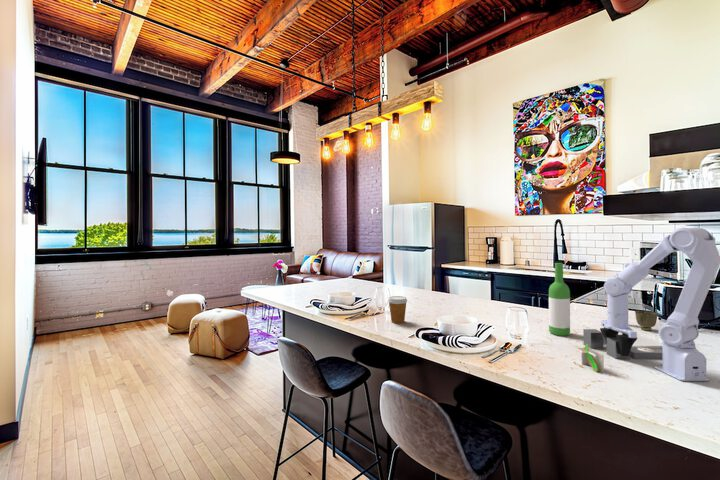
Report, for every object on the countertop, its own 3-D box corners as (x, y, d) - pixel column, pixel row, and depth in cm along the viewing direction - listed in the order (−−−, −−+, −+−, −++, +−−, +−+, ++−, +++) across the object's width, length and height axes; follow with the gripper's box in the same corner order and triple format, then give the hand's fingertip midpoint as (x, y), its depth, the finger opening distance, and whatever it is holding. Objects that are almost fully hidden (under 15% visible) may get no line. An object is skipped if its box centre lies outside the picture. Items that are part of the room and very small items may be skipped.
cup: (662, 333, 140) (662, 314, 140) (641, 332, 142) (641, 313, 142) (650, 328, 148) (650, 309, 147) (631, 327, 149) (631, 309, 149)
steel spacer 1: (603, 348, 123) (603, 332, 123) (590, 348, 124) (590, 332, 123) (595, 344, 128) (595, 329, 128) (583, 344, 128) (583, 329, 128)
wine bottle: (574, 335, 140) (574, 263, 139) (561, 337, 137) (560, 264, 136) (557, 330, 147) (557, 262, 146) (544, 332, 144) (544, 262, 143)
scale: (684, 358, 112) (684, 350, 112) (634, 358, 113) (634, 350, 113) (638, 339, 132) (638, 332, 132) (596, 339, 133) (596, 332, 133)
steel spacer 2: (629, 359, 113) (629, 341, 113) (615, 359, 113) (615, 341, 113) (620, 354, 118) (619, 337, 118) (606, 354, 118) (606, 337, 118)
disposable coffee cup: (385, 320, 169) (385, 296, 168) (402, 318, 172) (402, 295, 171) (392, 325, 160) (392, 300, 159) (410, 323, 163) (410, 298, 162)
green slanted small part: (590, 374, 103) (590, 348, 103) (576, 365, 110) (575, 341, 109) (603, 374, 103) (603, 348, 103) (588, 365, 110) (587, 341, 110)
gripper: (592, 308, 123) (592, 345, 123) (620, 318, 108) (620, 360, 109) (612, 308, 122) (612, 345, 123) (643, 318, 108) (643, 360, 108)
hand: (617, 352), depth 116 cm, fingers open, 6 cm apart
